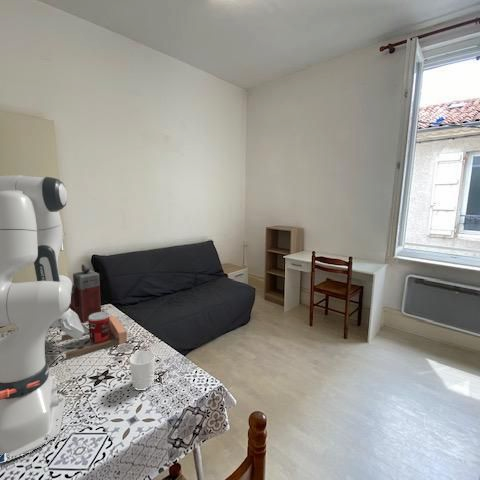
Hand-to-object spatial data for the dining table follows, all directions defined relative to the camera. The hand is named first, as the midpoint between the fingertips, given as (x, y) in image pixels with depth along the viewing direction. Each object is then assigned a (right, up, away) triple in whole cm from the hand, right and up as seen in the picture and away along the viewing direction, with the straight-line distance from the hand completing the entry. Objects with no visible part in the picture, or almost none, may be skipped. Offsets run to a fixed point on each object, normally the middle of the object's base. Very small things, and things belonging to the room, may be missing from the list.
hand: (87, 331), depth 114 cm
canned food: (+4, -5, +4) cm, 7 cm away
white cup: (+32, -10, -23) cm, 41 cm away
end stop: (+9, -4, +8) cm, 13 cm away
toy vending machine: (-13, -1, +23) cm, 27 cm away
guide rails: (+1, -5, +1) cm, 5 cm away
